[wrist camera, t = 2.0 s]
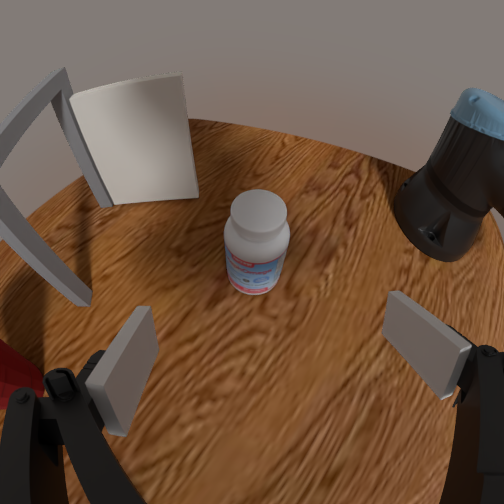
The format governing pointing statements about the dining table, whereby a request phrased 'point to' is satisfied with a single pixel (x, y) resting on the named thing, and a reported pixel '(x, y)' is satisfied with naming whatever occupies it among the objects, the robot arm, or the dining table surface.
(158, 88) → the door
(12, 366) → the plastic cup
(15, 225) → the door frame
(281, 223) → the pill bottle
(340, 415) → the dining table surface
